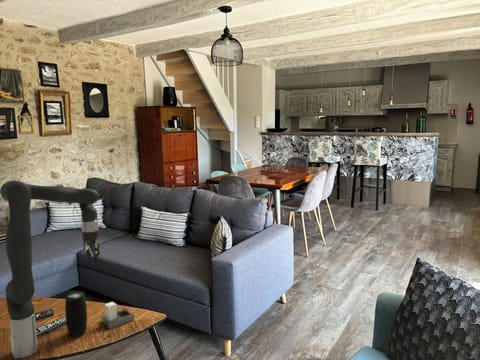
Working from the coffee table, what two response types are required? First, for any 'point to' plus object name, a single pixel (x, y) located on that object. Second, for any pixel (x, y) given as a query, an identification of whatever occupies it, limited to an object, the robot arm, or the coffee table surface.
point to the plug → (111, 311)
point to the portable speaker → (76, 313)
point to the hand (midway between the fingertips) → (91, 261)
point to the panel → (118, 319)
